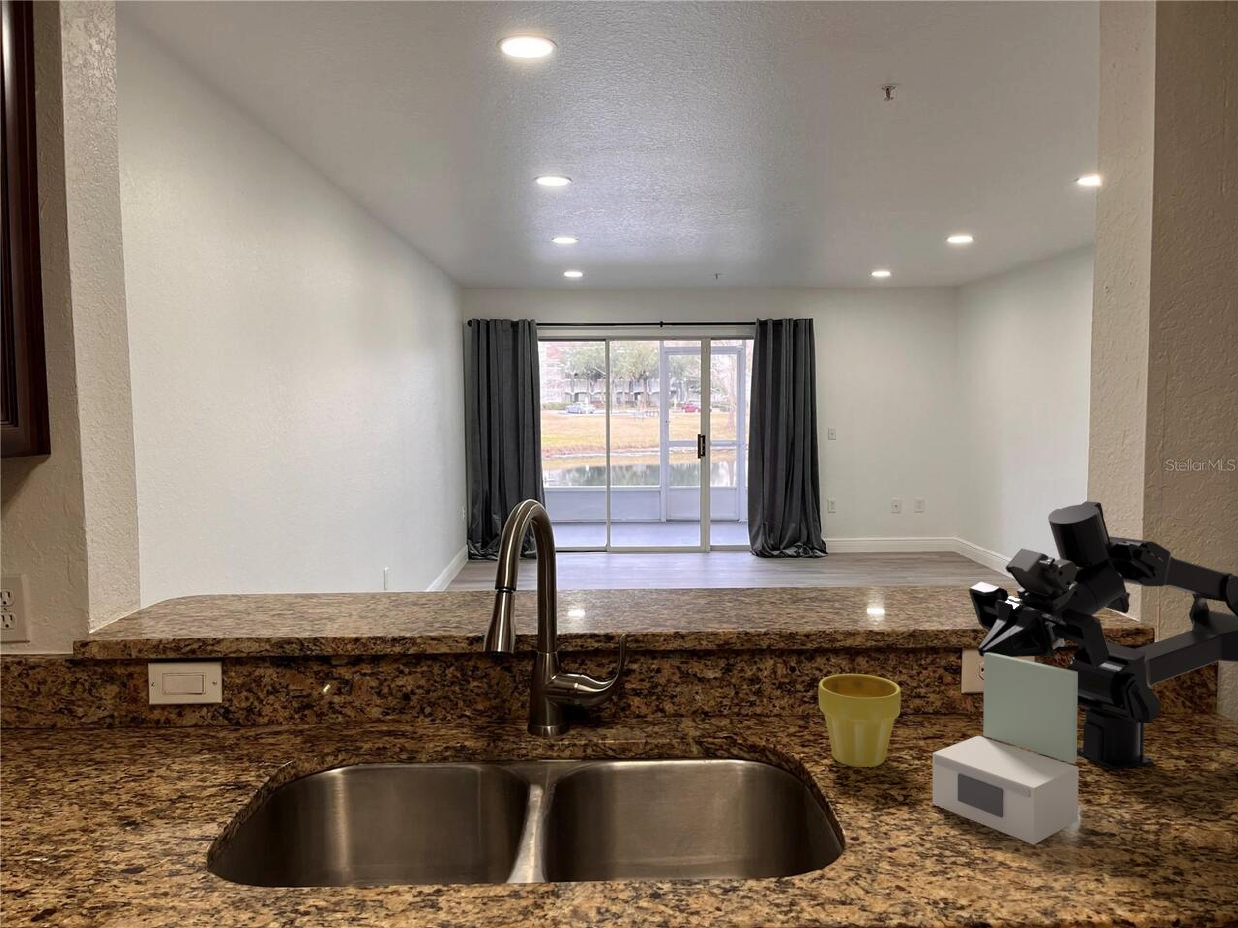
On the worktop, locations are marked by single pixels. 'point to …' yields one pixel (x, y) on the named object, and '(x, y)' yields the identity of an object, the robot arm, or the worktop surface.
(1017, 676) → the lid
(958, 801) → the box
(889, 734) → the plant pot
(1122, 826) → the worktop surface
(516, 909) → the worktop surface
